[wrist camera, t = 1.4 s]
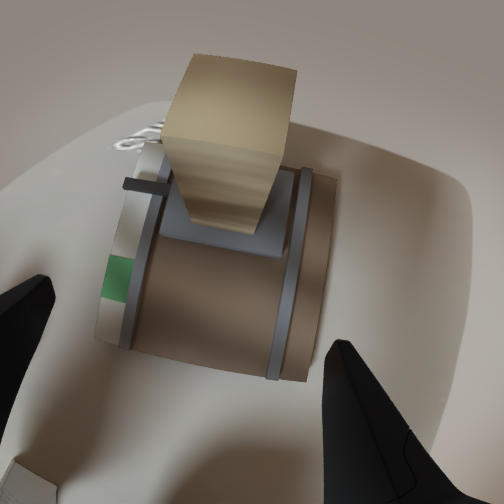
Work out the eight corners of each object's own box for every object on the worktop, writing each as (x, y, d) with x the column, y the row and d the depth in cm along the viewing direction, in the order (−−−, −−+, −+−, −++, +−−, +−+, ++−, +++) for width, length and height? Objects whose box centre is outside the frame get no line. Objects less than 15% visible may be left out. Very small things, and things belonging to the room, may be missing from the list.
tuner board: (300, 377, 21) (308, 384, 19) (102, 336, 20) (91, 338, 18) (330, 186, 24) (339, 176, 22) (149, 151, 23) (143, 138, 21)
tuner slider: (278, 259, 21) (341, 199, 9) (116, 226, 20) (24, 149, 9) (291, 178, 22) (347, 68, 10) (140, 151, 21) (88, 39, 10)
